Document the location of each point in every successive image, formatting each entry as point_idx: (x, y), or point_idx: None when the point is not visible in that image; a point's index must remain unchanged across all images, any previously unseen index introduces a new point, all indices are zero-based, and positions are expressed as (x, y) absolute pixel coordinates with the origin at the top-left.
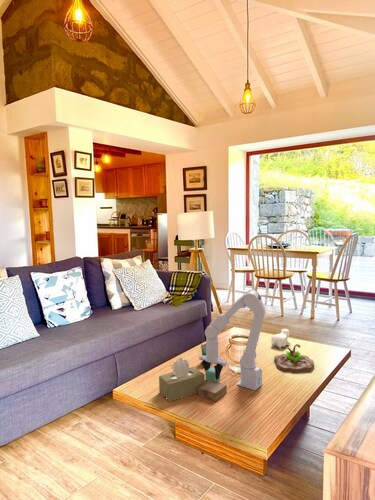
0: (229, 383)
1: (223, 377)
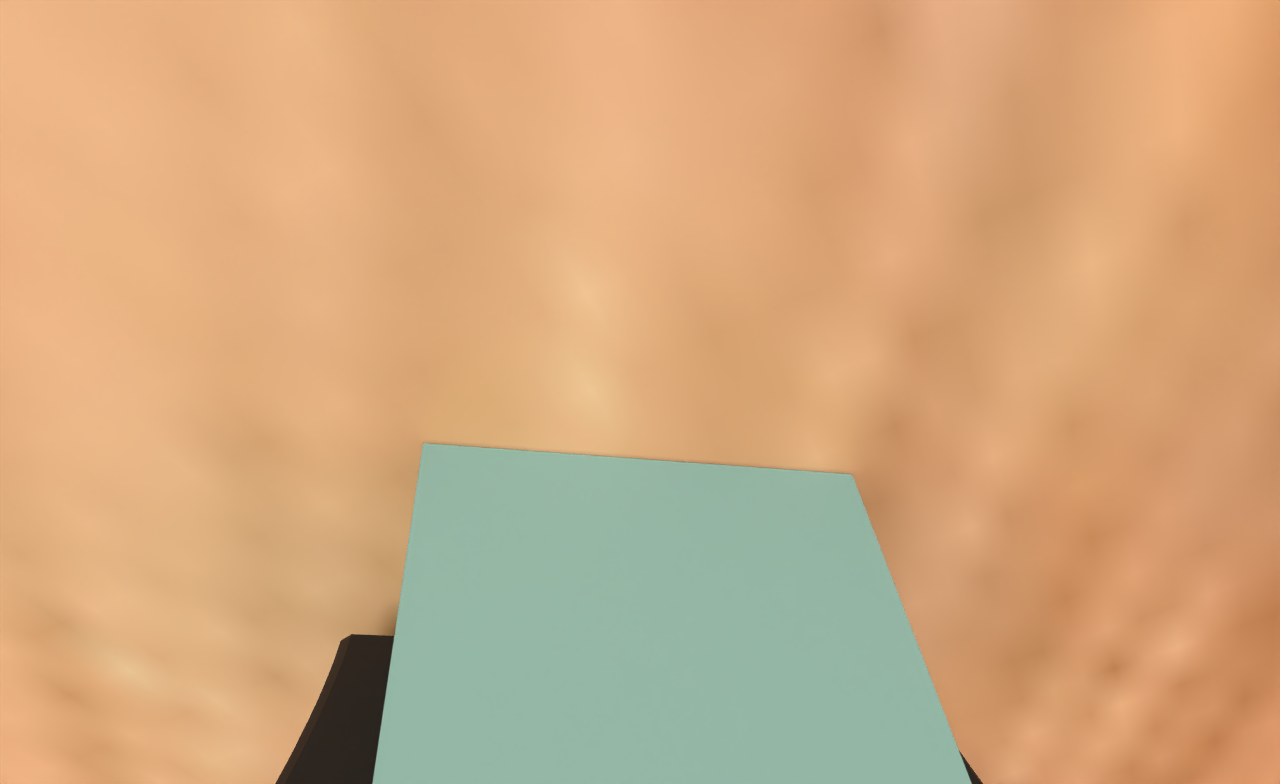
0: (1244, 547)
1: (945, 258)
